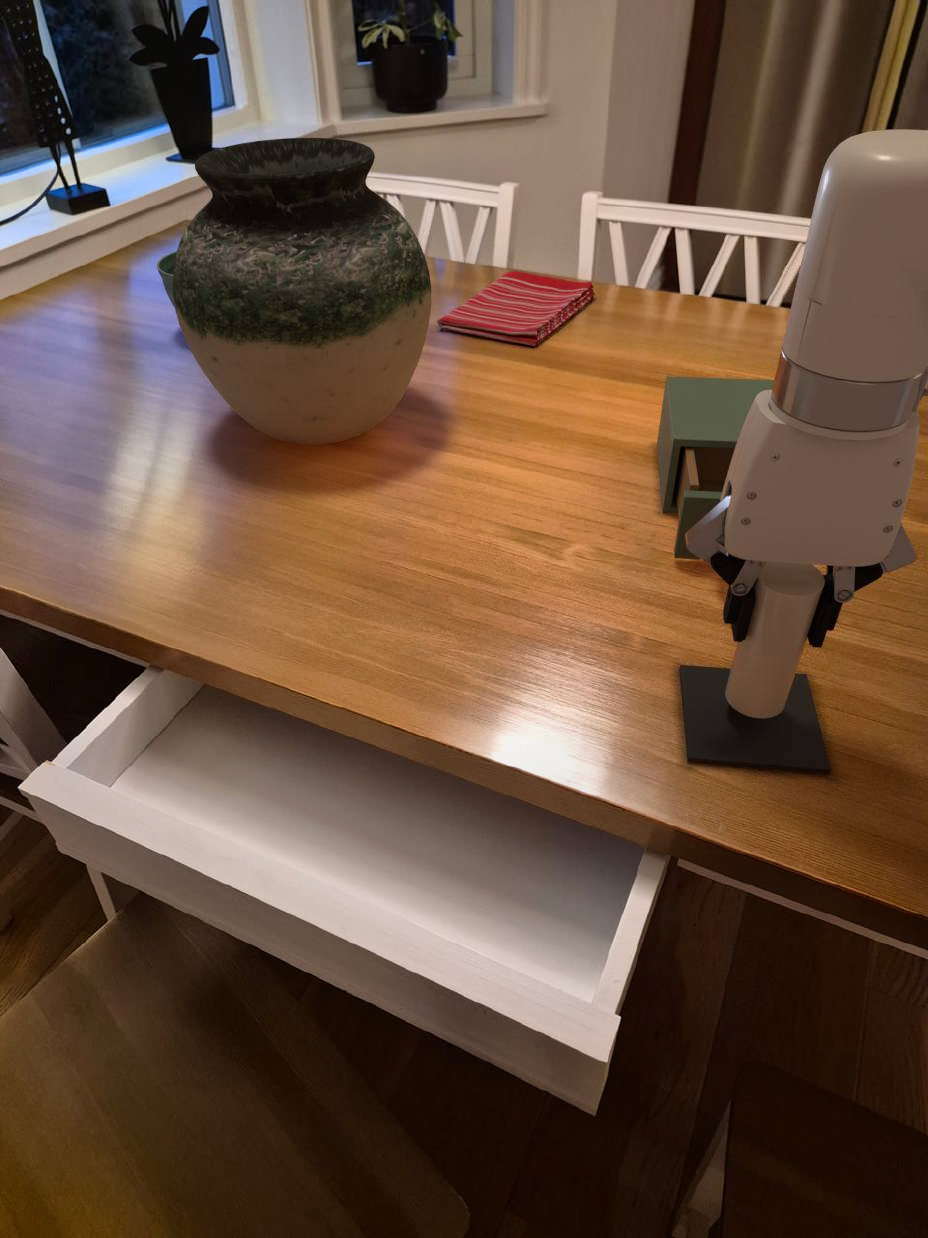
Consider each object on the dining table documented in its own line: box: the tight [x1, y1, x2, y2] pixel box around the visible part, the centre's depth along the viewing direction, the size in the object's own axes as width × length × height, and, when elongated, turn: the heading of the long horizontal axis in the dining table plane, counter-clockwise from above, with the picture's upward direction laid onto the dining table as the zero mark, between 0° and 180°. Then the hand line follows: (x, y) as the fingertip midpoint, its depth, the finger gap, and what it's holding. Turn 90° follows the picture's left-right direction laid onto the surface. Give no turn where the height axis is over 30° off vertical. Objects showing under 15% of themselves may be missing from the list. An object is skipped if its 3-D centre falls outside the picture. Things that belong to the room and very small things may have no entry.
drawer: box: [673, 446, 735, 561], centre depth 80 cm, size 18×11×7 cm, turn 172°
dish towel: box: [436, 270, 596, 347], centre depth 131 cm, size 17×24×3 cm
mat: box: [678, 664, 832, 776], centre depth 64 cm, size 10×10×1 cm
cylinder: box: [725, 562, 825, 718], centre depth 59 cm, size 4×4×12 cm
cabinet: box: [656, 375, 774, 515], centre depth 89 cm, size 15×13×9 cm
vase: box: [173, 137, 432, 446], centre depth 94 cm, size 28×28×30 cm
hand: (774, 629), depth 58 cm, fingers closed on cylinder, 4 cm apart
